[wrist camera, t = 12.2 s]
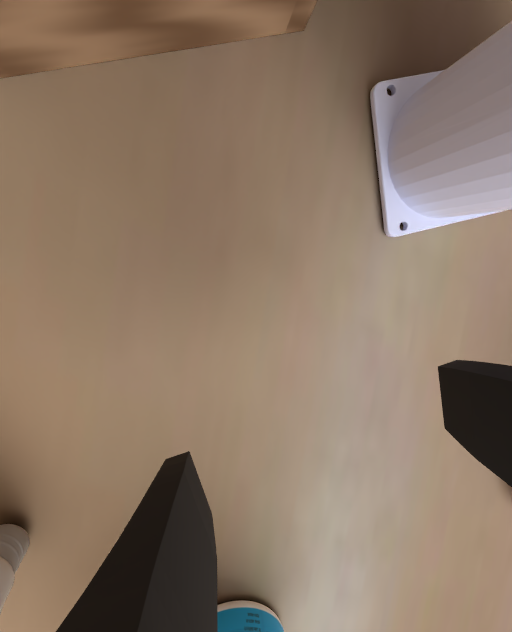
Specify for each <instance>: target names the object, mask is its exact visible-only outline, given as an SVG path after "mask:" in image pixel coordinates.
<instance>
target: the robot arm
mask: <svg viewBox="0 0 512 632" xmlns="http://www.w3.org/2000/svg"><path fill="white" fill-rule="evenodd" d="M387 88H388V89H390V90H391V96H389V95H388V94H387ZM370 100H371V109H372V119H373V128H374V137H375V147H376V156H377V166H378V175H379V184H380V194H381V203H382V212H383V222H384V231H385V234H386V235H387V236H389V237H397V236H402V235H406V234H410V233H414V232H418V231H422V230H427V229H431V228H435V227H439V226H443V225H447V224H451V223H456V222H460V221H464V220H468V219H472V218H476V217H480V216H485V215H489V214H493V213H497V212H501V211H505V210H512V21H510V22H509V23H508V24H506V25H505V26H504V27H502V28H501V29H500V30H498V31H497V32H496V33H494V34H493V35H492V36H490V37H489V38H487V39H486V40H485V41H483V42H482V43H481V44H479V45H478V46H477V47H475V48H474V49H473V50H471V51H470V52H469V53H467V54H466V55H465V56H463V57H462V58H460V59H459V60H458V61H456V62H455V63H454V64H452V65H451V66H450V67H448V68H447V69H446V70H441V71H436V72H430V73H425V74H419V75H414V76H408V77H403V78H397V79H392V80H386V81H381V82H378V83H377V84H376V85H375V86H374V87H373V88H372V90H371V92H370ZM401 223H403V229H402V230H400V228H399V226H400V224H401ZM438 372H439V381H440V390H441V399H442V408H443V417H444V426H445V429H446V430H447V431H448V432H449V433H450V434H451V435H452V436H453V437H454V438H455V439H456V440H457V441H458V442H459V443H460V444H461V445H462V446H463V447H464V448H465V449H466V450H467V451H468V452H469V453H470V454H471V455H473V456H474V457H475V458H476V459H477V460H478V461H479V462H481V463H482V464H483V465H484V466H486V467H487V468H488V469H489V470H491V471H492V472H493V473H495V474H496V475H497V476H498V477H500V478H501V479H502V480H503V481H505V482H506V483H507V484H509V485H510V486H511V487H512V366H508V365H501V364H493V363H485V362H476V361H464V360H456V361H453V362H450V363H447V364H444V365H441V366H438ZM56 632H218V621H217V555H216V545H215V536H214V527H213V518H212V513H211V510H210V507H209V504H208V502H207V499H206V496H205V493H204V490H203V488H202V485H201V482H200V479H199V477H198V474H197V471H196V468H195V466H194V463H193V460H192V457H191V455H190V452H186V453H183V454H180V455H177V456H174V457H171V458H168V459H166V460H165V462H164V463H163V465H162V466H161V468H160V470H159V472H158V473H157V475H156V477H155V478H154V480H153V482H152V484H151V485H150V487H149V489H148V490H147V492H146V494H145V496H144V497H143V499H142V501H141V502H140V504H139V506H138V508H137V509H136V511H135V513H134V514H133V516H132V518H131V519H130V521H129V523H128V524H127V526H126V528H125V529H124V531H123V533H122V534H121V536H120V537H119V539H118V541H117V542H116V544H115V545H114V547H113V548H112V550H111V551H110V553H109V554H108V556H107V557H106V559H105V561H104V562H103V564H102V565H101V567H100V568H99V570H98V571H97V573H96V574H95V576H94V577H93V579H92V580H91V582H90V583H89V585H88V587H87V588H86V590H85V591H84V593H83V594H82V595H81V597H80V598H79V600H78V601H77V603H76V604H75V606H74V607H73V608H72V610H71V611H70V613H69V614H68V615H67V617H66V618H65V620H64V621H63V622H62V624H61V625H60V627H59V628H58V629H57V631H56Z"/></svg>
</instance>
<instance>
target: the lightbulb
mask: <svg viewBox="0 0 512 632" xmlns="http://www.w3.org/2000/svg"><path fill="white" fill-rule="evenodd" d="M29 543H30V540H29V536H28V534H27V532H26V531H25V530H24V529H23V528H21V527H20V526H17V525H13V524H3V525H0V613H1V610H2V608H3V605H4V602H5V600H6V598H7V596H8V594H9V592H10V590H11V588H12V586H13V583H14V578H15V577H14V574H15V572H16V571H17V569H18V567H19V565H20V563H21V562H22V559H23V557H24V555H25V554H26V552H27V549H28V547H29Z"/></svg>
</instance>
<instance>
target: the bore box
mask: <svg viewBox="0 0 512 632" xmlns="http://www.w3.org/2000/svg"><path fill="white" fill-rule="evenodd" d="M316 2H317V0H0V78H5V77H11V76H17V75H24V74H30V73H36V72H43V71H49V70H56V69H62V68H68V67H75V66H81V65H87V64H94V63H100V62H106V61H113V60H119V59H126V58H132V57H138V56H145V55H151V54H157V53H164V52H170V51H177V50H183V49H189V48H196V47H202V46H208V45H215V44H221V43H227V42H234V41H240V40H247V39H253V38H259V37H266V36H272V35H278V34H285V33H291V32H298V31H304V29H305V27H306V24H307V22H308V20H309V18H310V16H311V13H312V11H313V9H314V7H315V5H316Z"/></svg>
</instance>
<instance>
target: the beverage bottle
mask: <svg viewBox="0 0 512 632" xmlns="http://www.w3.org/2000/svg"><path fill="white" fill-rule="evenodd" d="M217 621H218V632H284V630H283V627H282V624H281V622H280V620H279V618H278V617H277V615H276V614H275V613H274V612H273V611H272V610H271V609H269V608H268V607H266V606H265V605H262V604H260V603H257V602H253V601H244V600H240V601H230V602H226V603H222V604H219V605H217Z"/></svg>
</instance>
